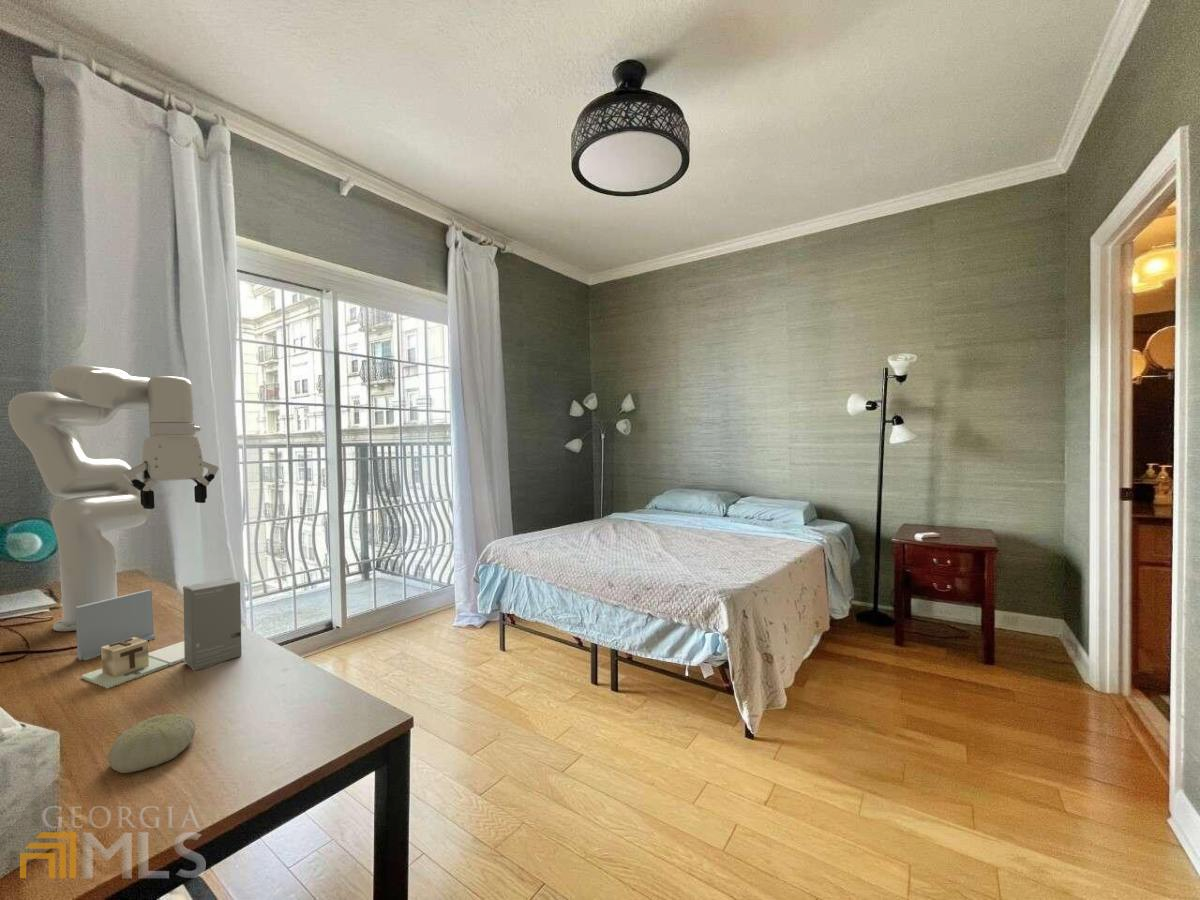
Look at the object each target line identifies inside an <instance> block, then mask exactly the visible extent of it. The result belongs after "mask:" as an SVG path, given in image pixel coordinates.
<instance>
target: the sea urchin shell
mask: <svg viewBox="0 0 1200 900" xmlns="http://www.w3.org/2000/svg"><path fill="white" fill-rule="evenodd" d="M195 733H196V725H195V722H194V721H193V719H191V717H189V716H187V715H183V714H179V713H171V714H169V713H166V714H159V715H155V716H152V717H151V718H147V719H145V720H142V721H141V722H139V723H137V724H134V725H133V726H132V727H129V728H128V729H127V730H124V732H122V733H121V734H119V736H118V737H117V738H116V739H114V741H113V743H112V745H111V747H110V749H109V750H108V753H107V760H108V763H109V765H110V767H111V769H112V770H114V771H117V772H119V773H121V774H123V773H125V774H131V773H135V772H139V771H144V770H146V769H148V768H153V767H157V766H159V765H161V764H163V763H167V762H170V760H172V759H175V758H176V757H178V755H179V754H180V753H181V752H183V751H184V750H185V749H186V748H187V747H188V745H190V743H191V742H192V740H193V739H194V737H195Z"/></svg>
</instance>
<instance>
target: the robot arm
mask: <svg viewBox="0 0 1200 900" xmlns="http://www.w3.org/2000/svg"><path fill="white" fill-rule="evenodd" d="M49 383H50V386H51V387H52V389H54V390H55V391H28V392H22V393H19V394H16V395H15V396H13V397H12V398H11V400H10V401H9V403H8V408H7V413H8V415H7V416H8V419H9V424H10V426H11V427H12V430H13V431H14V432H15V434H16V436H17V437H18V438H19V439H20V441H21V442H22V443H23V444H24V445H25V446H26V447H27V449H28V450H29V451H30V453H31V454H32V456H33V459H34V461H35V464H36V466H37V468H38V470H39V473H40V475H41V477H42V480H43V482H44V484H45V486H46V488H47V490H48V491H49V492H50V493H51V494H52V495H53V496H56V497H59V498H68V499H65V500H62V501H60V502H58V503H57V504H55V505H54V507H53V508H52V510H51V512H50V521H51V525H52V528H53V531H54V533H55V534H54V535H55V537H56V541H57V547H58V555H59V556H58V559H59V573H60V575H59V576H60V592H61V609H62V610H61V611H62V619H60V620H58V621H55V623H53V625H52V626H53V627H52V628H53V630H54V631H56V632H72V631H73V632H74V631H77V630H76V611H75V607H77V606H81V605H86V604H90V603H94V602H98V601H102V600H107V599H111V598H115V597H118V581H117V580H118V579H117V564H116V563H117V561H116V548H115V547H114V544H112V543H111V541H109V540H108V539H107V538H106V537H104V536H103V533H108V532H114V531H120V530H126V529H133V528H136V527H139V526H142V525H143V524H145V523H146V522H147V520H148V519H149V516H150V510H153V509H155V493H154V491H153V490H152V488H153V487H154V486H155V485H156V484H157V483H158V482H168V481H169V482H170V481H173V482H174V481H183V480H184V481H185V480H192V482H193V483H195V484H196V485H195V486H194V490H193V491H194V502H195V503H197V504H198V503H199V504H205V503H206V501H207V498H208V493H207V492H208V489H207V486H209V485H210V483H211V482H212V481H213V480H214V479H215V476H216V475H217V473H218V471H219V466H217V465H214V464H211V463H210V462H207V461H204V460H203V454H202V449H201V445H200V441H199V438H198V437H197V436H195V435H196V433H200V432H201V426H198V425H197V426H196V425H195V423H194V407H193V405H194V404H193V385H192V382H191V381H190V380H189V379H188V378H185V377H180V376H171V375H169V376H168V375H167V376H166V375H162V376H161V375H157V376H152V377H146V376H145V377H143V376H134V375H130V373H129V374H128V373H127V372H126V371H123V370H122V369H118V368H114V367H113V368H111V367H104V366H103V367H102V366H92V365H82V364H66V365H63V366H59V367H58V368H56V369H54V370H53V371H52V372H51V374H50V376H49ZM120 410H137V411H138V410H139V411H141V410H142V411H143V410H145V411H148V421H149V423H148V424H149V437H144V441H143V444H142V451H141V459H140V461H141V462H140V464H138V465H136V466H133V467H131V465H130V464H129V463H127V462H126V461H124V460H122V459H119V458H113V457H110V458H109V457H107V458H105V457H104V458H91V457H88V456H87V455H86V453H85V452H84V450H83V447H82V445H81V443H80V442H79V441H78V440H77V439H76V438H75V437H74V436H72V435H71V434H69V433H67V432H66V431H64V430H62V429H61V428H58V426H74V427H76V426H79V427H80V426H83V427H84V426H88V427H89V426H90V427H94V426H96V427H97V426H102V425H105V424H108V423H109V422H110V421H111V420H112V419H113V418H114V417H115V416H117V414H118V413H119V411H120ZM204 469H206V470H207V473H206V474H205V475H204ZM137 474H140V477H141V479H142V481H141V480H139V479H138V477H137ZM203 475H204V476H203Z"/></svg>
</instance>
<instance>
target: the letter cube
mask: <svg viewBox="0 0 1200 900" xmlns="http://www.w3.org/2000/svg"><path fill="white" fill-rule="evenodd" d="M148 653H149V641H146V640H143V639H140V638H137V637H133V638H130V639H126V640H123V641H120V642H116V643H113V644H110V645H107V646H103V647H101V656H100V657H101V669H102V673H104V674H107V675H109V676H112V677H114V678H116V677H119V676H121V675H124V674H127V673H129V672H132V671H135V670H138V669H141V668H144V667H147V666H149V657H148Z"/></svg>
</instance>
